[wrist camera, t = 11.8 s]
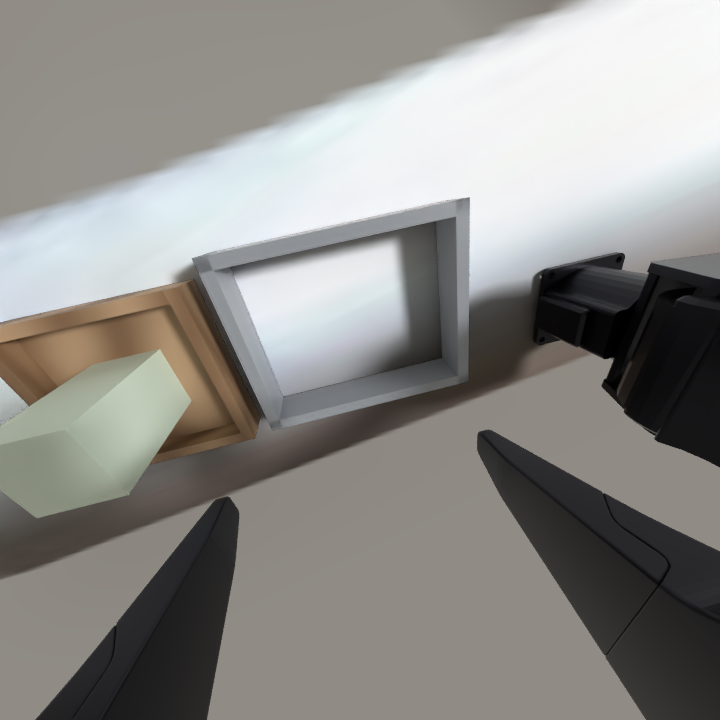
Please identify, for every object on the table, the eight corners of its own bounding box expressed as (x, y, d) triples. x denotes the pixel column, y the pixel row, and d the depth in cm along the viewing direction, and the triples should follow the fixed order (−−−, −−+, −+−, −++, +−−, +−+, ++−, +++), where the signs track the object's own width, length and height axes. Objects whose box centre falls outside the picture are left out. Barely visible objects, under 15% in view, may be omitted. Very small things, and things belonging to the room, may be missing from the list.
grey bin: (446, 200, 18) (469, 197, 15) (451, 363, 24) (468, 381, 21) (210, 252, 17) (191, 258, 14) (277, 406, 23) (272, 430, 21)
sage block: (159, 348, 18) (64, 429, 11) (191, 400, 21) (128, 495, 14) (92, 364, 18) (-46, 455, 11) (132, 415, 20) (36, 518, 13)
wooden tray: (193, 279, 18) (176, 287, 15) (260, 417, 23) (254, 438, 21) (4, 321, 17) (-41, 336, 15) (120, 452, 23) (100, 477, 21)
